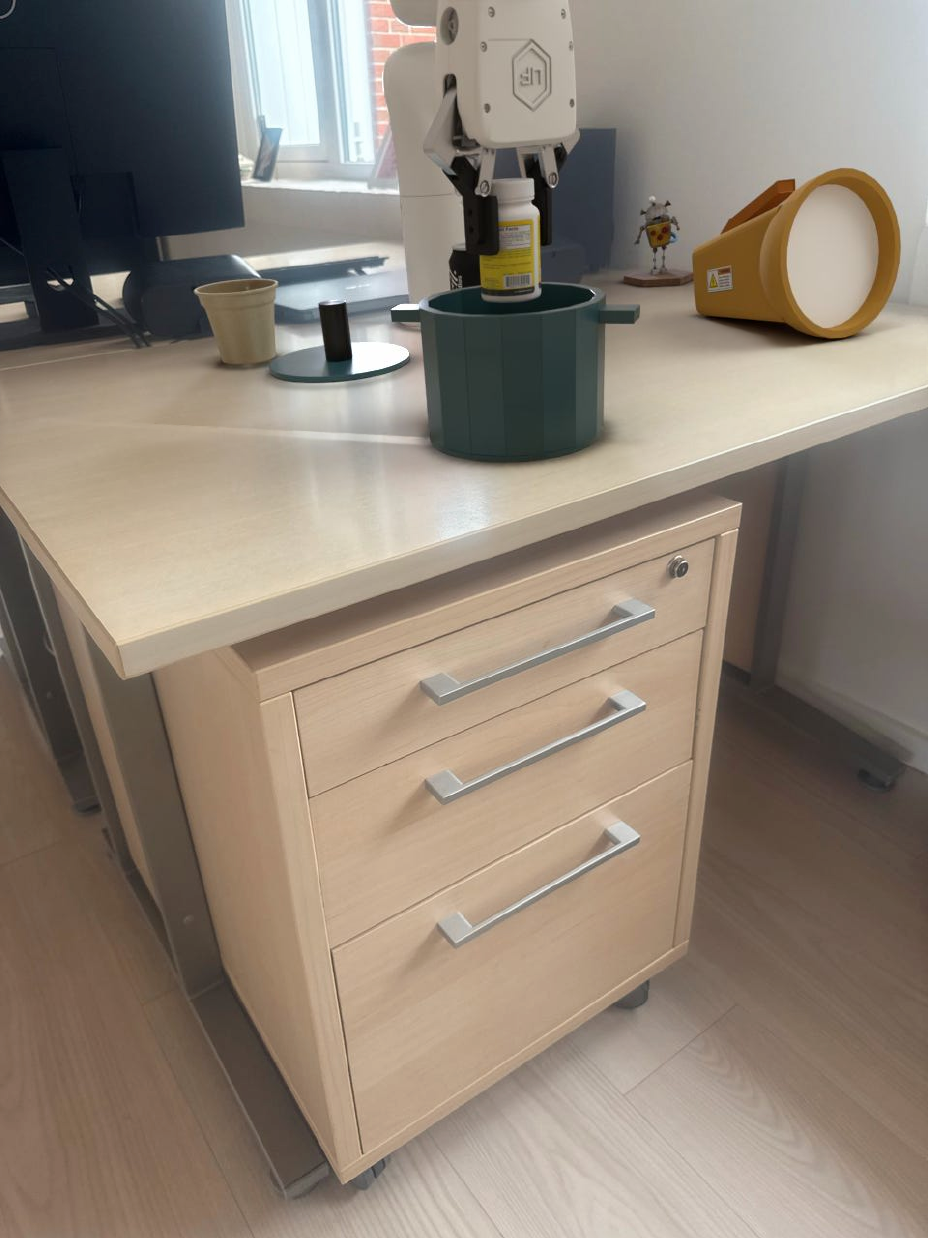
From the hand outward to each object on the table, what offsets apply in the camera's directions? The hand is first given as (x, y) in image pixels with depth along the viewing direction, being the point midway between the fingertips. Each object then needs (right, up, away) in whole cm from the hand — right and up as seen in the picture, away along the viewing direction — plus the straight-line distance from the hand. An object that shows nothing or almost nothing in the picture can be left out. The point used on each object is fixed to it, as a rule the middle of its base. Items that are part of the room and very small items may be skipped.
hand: (509, 246), depth 67 cm
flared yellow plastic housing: (+34, +7, +38) cm, 51 cm away
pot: (+1, -13, +7) cm, 15 cm away
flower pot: (-29, +2, +37) cm, 47 cm away
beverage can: (-1, 0, +31) cm, 31 cm away
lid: (-17, 0, +31) cm, 35 cm away
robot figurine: (+27, +24, +69) cm, 77 cm away
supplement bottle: (0, -3, +2) cm, 4 cm away
